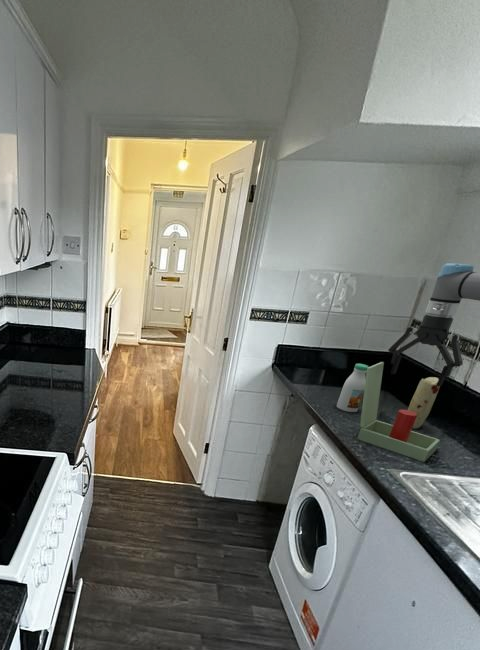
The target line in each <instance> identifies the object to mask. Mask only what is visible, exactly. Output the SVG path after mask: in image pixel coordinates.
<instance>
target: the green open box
mask: <svg viewBox="0 0 480 650" xmlns="http://www.w3.org/2000/svg"><path fill="white" fill-rule="evenodd" d="M392 427H393V424H391V423H388V422H384V421H381V420H378V419H375V420H373V421H372V422H370V423H369V424H367V425H365V426H364V427H360V429H359V433H358V435H357V438H356V440H359V441H361V442H365V443H367V444H370V445H373V446H376V447H379V448H381V449H385V450H387V451H391V452H393V453H397V454H399V455H403V456H406V457H408V458H411V459H413V460H417V461H420V462H422V463H424V462H426V461H427V460H428V459H429V458H430V457H431V456H432V455H433V454H434V453H435V452H436V450H437V449H438V446H439V444H440V441H441V439H438V438H436V437H432V436H429V435H426V434H423V433H420V432H417V431H413V430H411V432H410V435H409V437H408V440H407V442H403V441H400V440H397V439H394V438H391V437H389V435H390V432H391V430H392Z"/></svg>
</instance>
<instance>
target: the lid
mask: <svg viewBox="0 0 480 650" xmlns="http://www.w3.org/2000/svg"><path fill="white" fill-rule="evenodd" d="M384 364H385V362H384V361H380V362H378V363H376V364H373V365H371V366H368V368H367V372H366V374H365V379H366V381H365V389H364V394H363V397H362V408H361V414H360V415H361V416H360V424H359V428H362V427H364V426H366V425H367V424H369V423H370V422H372V421H373V420H377V419H378V411H379V402H380V394H381V388H382V387H381V386H382V381H383V380H382V379H383V372H384V366H385V365H384Z"/></svg>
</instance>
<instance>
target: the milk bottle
mask: <svg viewBox="0 0 480 650" xmlns="http://www.w3.org/2000/svg"><path fill="white" fill-rule="evenodd" d="M368 367H369V365H367V364H364V363H355V365H354V368H353V371H352V373H351V374H350V375H349V376H348V377H347V378H346V380H345V382H344V384H343V385H342V389H341V391H340V395H339V397H338V400H337V402H336V408H338V409H339V410H341V411H344V412H349V413H356V412H358V410H359V407H360V405H361V402H362V400H363V398H364V389H365V381H366V373H367V368H368Z"/></svg>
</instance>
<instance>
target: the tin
mask: <svg viewBox="0 0 480 650" xmlns="http://www.w3.org/2000/svg"><path fill="white" fill-rule="evenodd" d="M395 417H396V418H395V419H394V422H393V424H392V425H393V427H392V430H391V432H390V435H389V437H391V438H394V439H397V440H400V441H403V442H407V440H408V437H409V435H410V432H411V431H413V430H412V429H413V428H412V427H413V425H414V422H415V420H416V417H417V414H416V413H415V412H412V411H409V410H408V409H399V410H398V411H397V414H396V416H395Z"/></svg>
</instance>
